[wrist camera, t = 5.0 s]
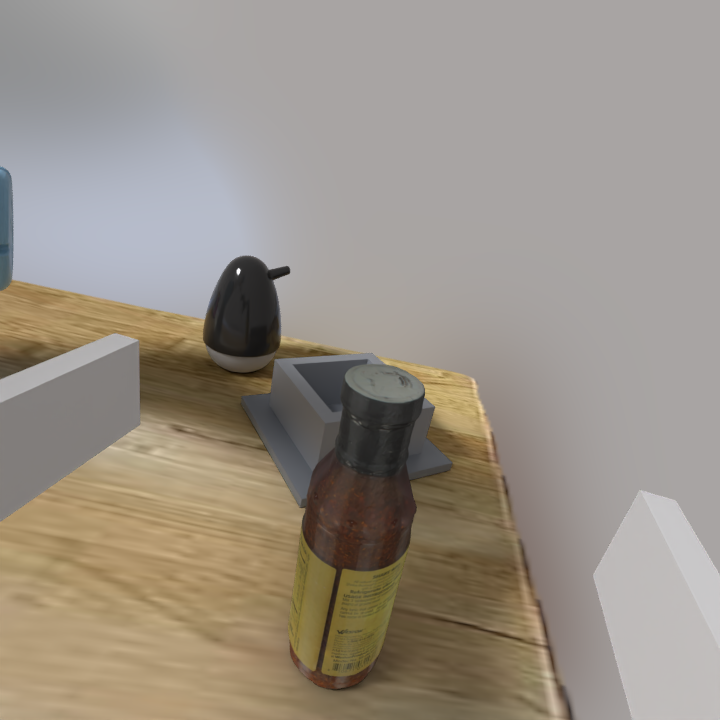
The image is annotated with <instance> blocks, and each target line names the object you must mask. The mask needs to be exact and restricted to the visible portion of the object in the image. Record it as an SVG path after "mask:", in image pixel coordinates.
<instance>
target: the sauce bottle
mask: <svg viewBox="0 0 720 720" xmlns="http://www.w3.org/2000/svg"><path fill="white" fill-rule="evenodd" d="M424 396H425V388H424V385H423V384H422V383H421V382H420V381H419V380H418V379H417V378H416V377H415V376H413V375H411V374H409V373H408V372H406V371H404V370H402V369H400V368H397V367H394V366H389V365H383V364H364V365H359V366H354V367H352V368H351V369H349V370H348V371H347V372H346V373H345V376H344V379H343V385H342V389H341V395H340V398H341V402H342V405H343V409H342V415H341V420H340V427H339V434H338V435H337V437H336V440H335V447H334V448H333V449H332V450H331V451H330V452H329V453H328V454H327V455H326V456H325V457H324V458H323V459H322V460H321V461H320V462H318V463H317V465H316V466H315V469H314V470H313V472H312V476H311V480H310V485H309V488H308V493H307V495H306V497H307V503H306V510H305V514H304V516H303V520H302V527H301V534H300V542H299V550H298V558H297V566H296V573H295V580H294V587H293V594H292V601H291V608H290V616H289V622H288V632H289V638H290V640H289V641H290V654H291V657H292V660H293V662H294V663H295V665H296V666H297V667H298V669H299V671H300V672H302V673H303V674H304V675H305V676H306V677H307V678H308V679H309V680H311V681H313V683H314V684H316V685H318V686H319V687H323V688H326V689H340V688H345V687H346V688H347V687H351V686H353V685H356V684H357V683H359V682H361V681H362V680H363V679H364V678H365V677H366V676H367V674H368V673H369V672H370V670H371V669H372V667H373V666H374V664H375V662H376V660H377V658H378V655H379V653H380V651H381V648H382V646H383V643H384V640H385V635H386V632H387V628H388V624H389V620H390V616H391V612H392V608H393V604H394V600H395V597H396V593H397V589H398V585H399V581H400V578H401V574H402V570H403V567H404V563H405V559H406V555H407V551H408V548H409V544H410V537H411V525H412V522H413V518H414V514H415V513H416V509H417V507H416V504H415V501H414V498H413V494H412V489H411V485H410V480H409V475H408V470H407V465H406V461H407V459H408V456H409V452H408V451H409V450H408V447H409V444H410V438H411V435H412V431H413V427H414V425H415V421H416V420H417V419H418V418H419V416H420V414H421V412H422V407H423V401H424Z"/></svg>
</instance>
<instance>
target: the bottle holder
mask: <svg viewBox="0 0 720 720" xmlns="http://www.w3.org/2000/svg"><path fill="white" fill-rule="evenodd" d="M364 364H383V365H385V364H384V363H383V362H382V361H381V360H380V359H378V358H377V357H376V356H375V355H374V354H373V353H365V354H349V355H333V356H317V357H301V358H285V359H275V361H274V369H273V377H272V385H271V393H269V394H259V395H249V396H242V397H241V405H242V406H243V408H244V410H245V412H246V413H247V415H248V417H249V419H250V420H251V422H252V424H253V426H254V427H255V429H256V431H257V433H258V434H259V436H260V438H261V440H262V442H263V443H264V445H265V447H266V449H267V450H268V452H269V454H270V456H271V457H272V459H273V461H274V463H275V464H276V466H277V468H278V470H279V471H280V473H281V475H282V477H283V478H284V480H285V482H286V484H287V486H288V487H289V489H290V491H291V493H292V494H293V496H294V498H295V500H296V501H297V503H298V505H299V507H300V508H302V507H306V503H307V497H306V495H307V493H308V488H309V485H310V480H311V476H312V472H313V470H314V469H315V466H316V465H317V463H318V462H320V461H321V460H322V459H323V458H324V457H325V456H326V455H327V454H328V453H329V452H330V451H331V450H332V449H333V448H334V447H335V440H336V437H337V435H338V434H339V427H340V420H341V415H342V409H343V405H342V402H341V398H340V395H341V389H342V385H343V379H344V376H345V373H346V372H347V371H348V370H349V369H351V368H352V367H354V366H359V365H364ZM434 409H435V406H434V405H432V404H431V403H430V402H429V401H428V400H427V399H425V398H424V401H423V407H422V412H421V414H420V416H419V418H418V419H417V420H416V421H415V425H414V427H413V431H412V435H411V438H410V444H409V447H408V450H409V451H408V452H409V456H408V459H407V461H406V465H407V470H408V475H409V480H413V479H417V478H421V477H425V476H429V475H433V474H437V473H441V472H445V471H448V470H450V469H451V466H452V462H451V461H450V460H449V459H448V458H447V457H446V456H445V455H444V454H443V453H442V452H441V451H440V450H439V449H438V448H437V447H436V446H435V445H434V444H432V443H431V442H430V441H429V440H428V439H427V438H426V436H427V432H428V429H429V426H430V422H431V419H432V416H433V413H434Z"/></svg>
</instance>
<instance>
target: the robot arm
mask: <svg viewBox="0 0 720 720" xmlns="http://www.w3.org/2000/svg"><path fill="white" fill-rule="evenodd" d="M12 194H13V193H12V180H11V175H10V173H9V172H8V171H7V170H6V169H4V168H3V167H0V291H2V290H4V289H6V288H7V287H8V286H9V285H10V283H11V280H12V270H13V195H12ZM139 425H140V376H139V340H136V339H133V338H130V337H126V336H123V335H120V334H116V333H114V334H112V335H109V336H107V337H104V338H102V339H99V340H97V341H94V342H92V343H89V344H87V345H84V346H82V347H79V348H77V349H74V350H72V351H69V352H67V353H64V354H62V355H59V356H57V357H54V358H52V359H50V360H47V361H45V362H42V363H40V364H37V365H35V366H32V367H30V368H27V369H25V370H22V371H20V372H17V373H15V374H12V375H10V376H7V377H5V378H2V379H0V522H1V521H2V520H4V519H5V518H6V517H8V516H9V515H11V514H12V513H14V512H15V511H16V510H18V509H19V508H21V507H22V506H24V505H25V504H27V503H28V502H29V501H31V500H32V499H34V498H35V497H37V496H38V495H39V494H41V493H42V492H44V491H45V490H47V489H48V488H50V487H51V486H52V485H54V484H55V483H57V482H58V481H60V480H61V479H62V478H64V477H65V476H67V475H68V474H70V473H71V472H73V471H74V470H75V469H77V468H78V467H80V466H81V465H83V464H84V463H85V462H87V461H88V460H90V459H91V458H93V457H94V456H96V455H97V454H98V453H100V452H101V451H103V450H104V449H106V448H107V447H108V446H110V445H111V444H113V443H114V442H116V441H117V440H119V439H120V438H121V437H123V436H124V435H126V434H127V433H129V432H130V431H131V430H133V429H134V428H136V427H137V426H139ZM593 578H594V581H595V585H596V589H597V592H598V596H599V600H600V603H601V607H602V611H603V614H604V618H605V622H606V625H607V629H608V633H609V637H610V640H611V644H612V648H613V651H614V655H615V659H616V662H617V666H618V670H619V674H620V677H621V680H622V684H623V688H624V692H625V696H626V699H627V703H628V707H629V710H630V714H631V718H632V720H720V574H719V572H718V571H717V569H716V567H715V566H714V564H713V562H712V561H711V559H710V557H709V556H708V554H707V552H706V551H705V549H704V547H703V546H702V544H701V542H700V540H699V539H698V537H697V536H696V534H695V532H694V530H693V529H692V527H691V525H690V524H689V522H688V520H687V519H686V517H685V515H684V514H683V512H682V511H681V509H680V507H679V505H678V504H677V502H676V501H675V500H672V499H669V498H666V497H662V496H659V495H656V494H652V493H649V492H645V491H642V490H640V491H639V493H638V494H637V496H636V498H635V500H634V502H633V503H632V505H631V507H630V509H629V511H628V512H627V514H626V516H625V518H624V520H623V521H622V523H621V525H620V527H619V529H618V530H617V532H616V534H615V536H614V538H613V539H612V541H611V543H610V545H609V547H608V549H607V550H606V552H605V554H604V556H603V558H602V559H601V561H600V563H599V565H598V567H597V568H596V570H595V572H594V574H593Z"/></svg>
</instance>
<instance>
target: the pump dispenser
mask: <svg viewBox="0 0 720 720" xmlns="http://www.w3.org/2000/svg"><path fill="white" fill-rule="evenodd" d="M288 274H290V268H289V267H288V266H285V267H280V268H276V269H271V270H268V268H267V266H266V265H265V264H264V263H263V262H262V261H261V260H259V259H258V258H256V257H253V256H240V257H238V258H235V259H234V260H232V261H231V262H230V264H229V265H228V266H227V267H226V269H225V270H224V272H223V273H222V275H221V277H220V279H219V280H218V282H217V285H216V287H215V289H214V291H213V294H212V296H211V299H210V302H209V306H208V309H207V313H206V318H205V322H204V328H203V341H204V343H205V344H206V348H207V351H208V353H209V355H210V357H211V358H212V360H213V361H214V362H215V363H216V364H217V365H219V366H220V367H222V368H224V369H227V370H229V371H233V372H240V373H245V372H253V371H256V370H259V369H261V368H263V367H265V366H266V365H267V364H268V363H269V362H270V361H271V360H272V358H273V357H274V355H275V353H276V351H277V350H278V348H279V347H280V342H281V315H280V307H279V301H278V296H277V292H276V288H275V285H274V282H273V280H275V279H277V278H280V277H282V276H285V275H288Z"/></svg>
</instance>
